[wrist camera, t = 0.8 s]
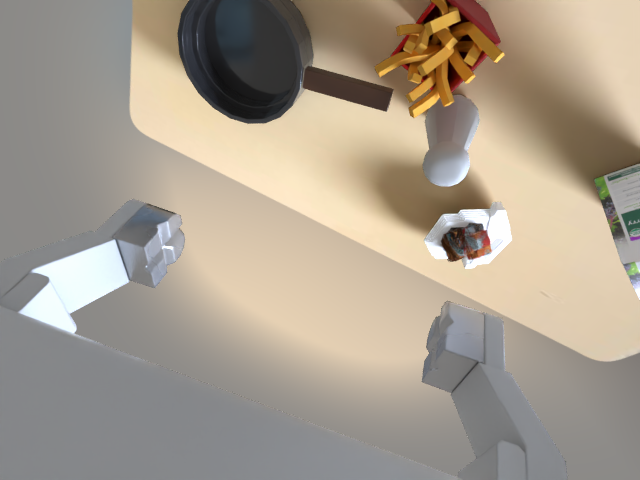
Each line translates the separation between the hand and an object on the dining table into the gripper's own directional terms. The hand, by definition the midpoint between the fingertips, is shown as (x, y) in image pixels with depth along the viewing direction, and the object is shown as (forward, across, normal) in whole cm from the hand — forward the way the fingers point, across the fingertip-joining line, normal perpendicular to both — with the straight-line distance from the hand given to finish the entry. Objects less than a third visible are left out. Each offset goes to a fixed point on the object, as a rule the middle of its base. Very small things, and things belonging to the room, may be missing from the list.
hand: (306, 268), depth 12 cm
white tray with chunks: (+40, -14, +27) cm, 50 cm away
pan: (+39, +19, +11) cm, 45 cm away
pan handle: (+36, +6, +11) cm, 38 cm away
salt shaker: (+40, -6, +12) cm, 42 cm away
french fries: (+40, -1, +3) cm, 40 cm away
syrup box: (+40, -28, +15) cm, 51 cm away
